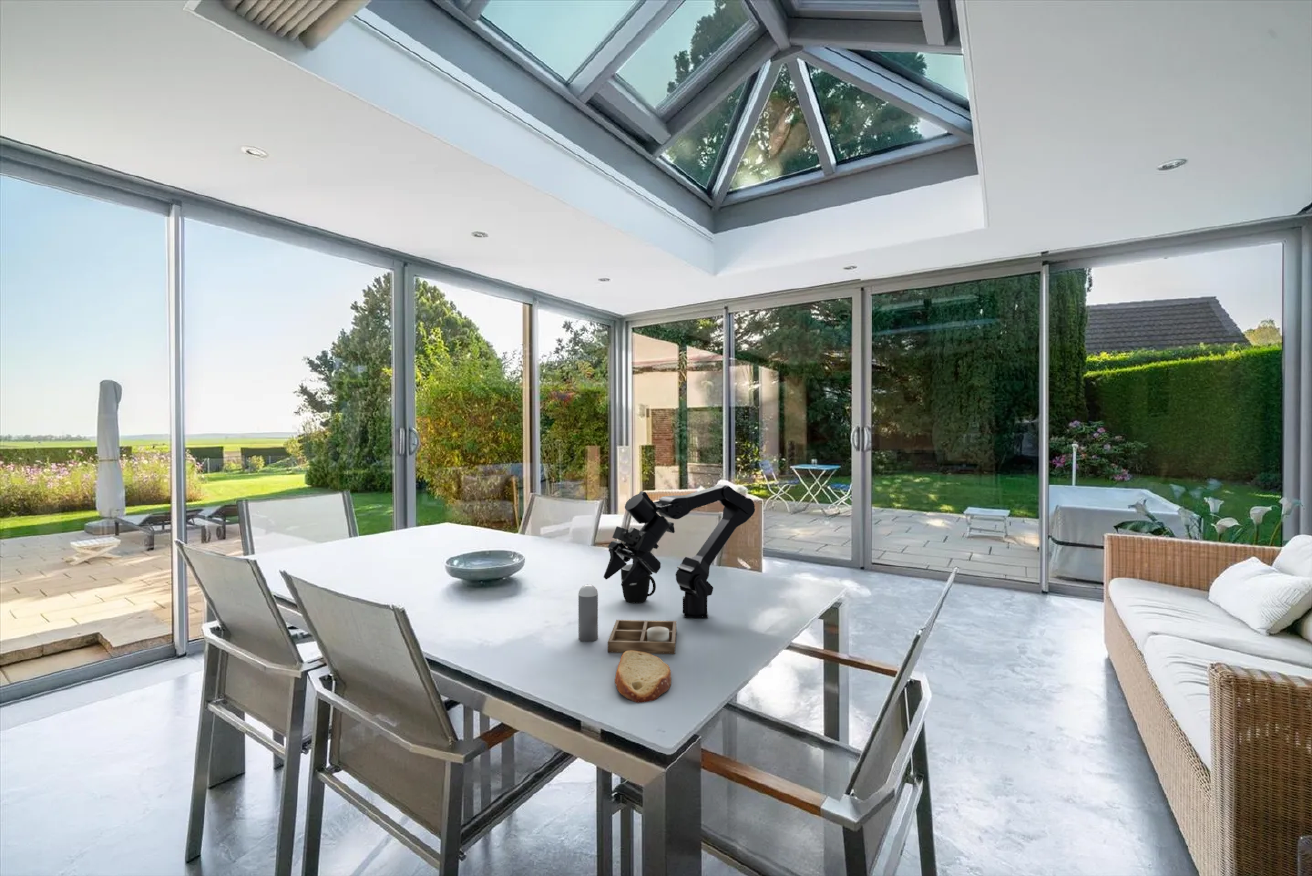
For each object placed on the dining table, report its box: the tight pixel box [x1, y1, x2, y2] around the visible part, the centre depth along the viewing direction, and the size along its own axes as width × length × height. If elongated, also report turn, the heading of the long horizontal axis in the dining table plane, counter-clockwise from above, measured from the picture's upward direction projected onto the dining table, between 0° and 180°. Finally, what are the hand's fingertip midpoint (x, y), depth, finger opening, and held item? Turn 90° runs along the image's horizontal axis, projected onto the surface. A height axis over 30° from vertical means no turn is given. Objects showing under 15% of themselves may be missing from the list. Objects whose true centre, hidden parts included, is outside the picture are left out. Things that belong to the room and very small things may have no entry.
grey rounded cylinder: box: [577, 583, 599, 643], centre depth 141 cm, size 5×5×13 cm
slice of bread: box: [614, 650, 672, 704], centre depth 118 cm, size 18×18×4 cm
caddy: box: [607, 619, 677, 655], centre depth 139 cm, size 16×16×4 cm
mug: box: [620, 563, 657, 604], centre depth 173 cm, size 12×9×10 cm
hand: (613, 582), depth 145 cm, fingers open, 9 cm apart
